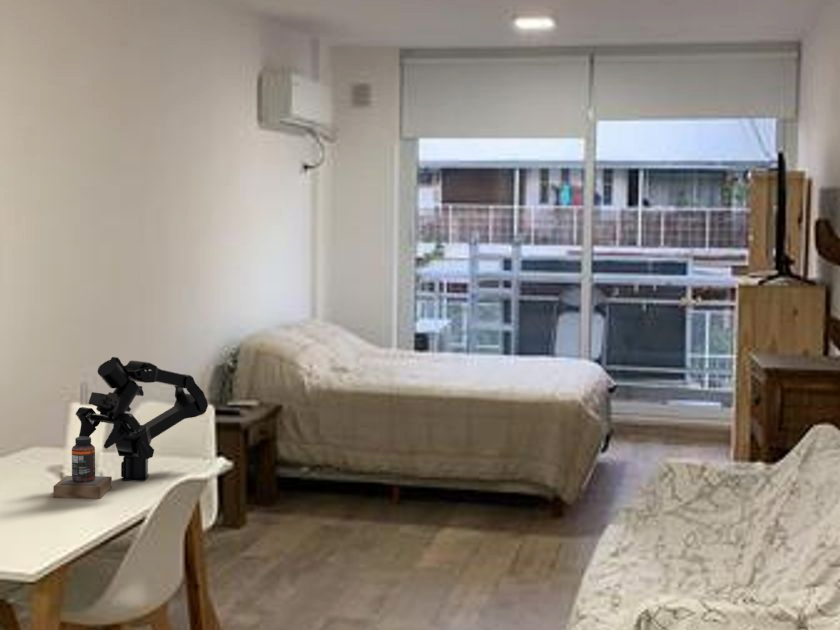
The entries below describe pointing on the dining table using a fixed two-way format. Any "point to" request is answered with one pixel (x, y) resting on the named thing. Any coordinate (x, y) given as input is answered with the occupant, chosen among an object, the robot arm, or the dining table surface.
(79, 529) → the dining table surface
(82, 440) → the supplement bottle
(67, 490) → the walnut base
